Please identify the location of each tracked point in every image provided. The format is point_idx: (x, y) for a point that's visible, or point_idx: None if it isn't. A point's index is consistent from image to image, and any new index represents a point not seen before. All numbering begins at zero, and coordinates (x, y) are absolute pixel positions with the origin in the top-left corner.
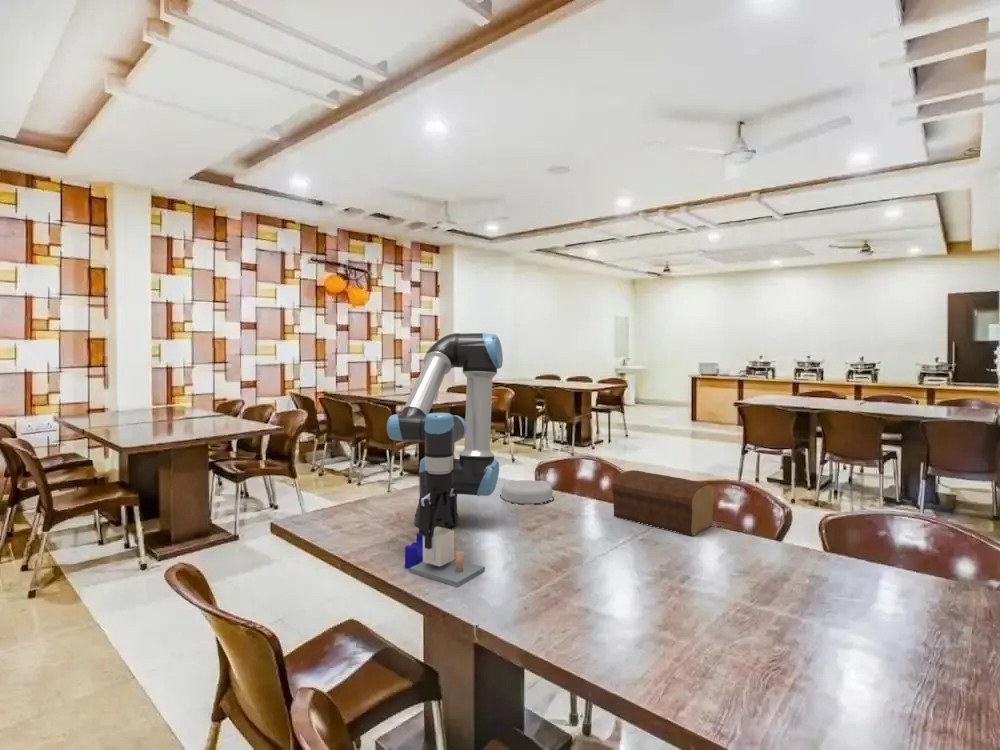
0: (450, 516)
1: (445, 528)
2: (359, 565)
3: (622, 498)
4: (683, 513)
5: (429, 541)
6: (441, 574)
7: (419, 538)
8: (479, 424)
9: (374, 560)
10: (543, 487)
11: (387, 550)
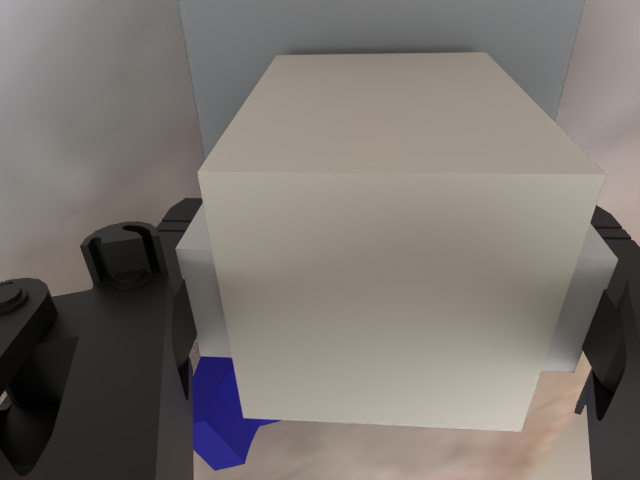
0: (91, 437)
1: (226, 318)
2: (540, 455)
3: None
4: None
5: (631, 254)
6: None
7: (243, 426)
8: None
9: (455, 443)
10: None
11: (325, 461)
